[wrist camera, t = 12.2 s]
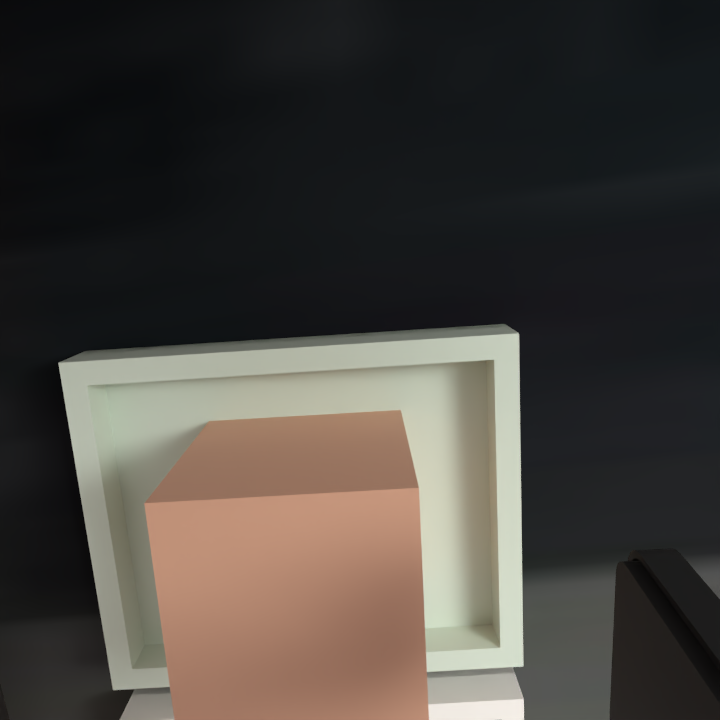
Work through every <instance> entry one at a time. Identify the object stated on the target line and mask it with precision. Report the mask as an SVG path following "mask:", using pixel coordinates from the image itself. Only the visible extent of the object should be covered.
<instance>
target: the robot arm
mask: <svg viewBox="0 0 720 720" xmlns="http://www.w3.org/2000/svg"><path fill="white" fill-rule="evenodd" d="M0 720H9V717H8V713H7V709H6V705H5V701H4V697H3V693H2V689H1V685H0ZM610 720H720V599H719V598H718V597H717V596H716V595H715V594H714V592H713V591H712V590H711V589H710V588H709V587H708V585H707V584H706V583H705V582H704V581H703V580H702V578H701V577H700V576H699V575H698V574H697V573H696V571H695V570H694V569H693V568H692V567H691V566H690V564H689V563H688V562H687V561H686V560H685V559H684V557H683V556H682V555H681V554H680V553H679V552H678V551H677V550H675V549H654V550H633V551H632V552H631V553H630V555H629V557H628V561H624V562H619V563H618V565H617V569H616V586H615V608H614V631H613V653H612V675H611V698H610Z"/></svg>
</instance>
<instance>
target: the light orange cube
mask: <svg viewBox="0 0 720 720" xmlns="http://www.w3.org/2000/svg"><path fill="white" fill-rule="evenodd" d="M144 505H145V512H146V520H147V527H148V534H149V541H150V548H151V555H152V563H153V570H154V577H155V584H156V591H157V598H158V606H159V613H160V620H161V627H162V634H163V641H164V648H165V656H166V663H167V670H168V677H169V684H170V691H171V699H172V706H173V713H174V720H429V709H428V686H427V663H426V640H425V616H424V593H423V570H422V547H421V524H420V500H419V486H418V482H417V477H416V473H415V469H414V464H413V460H412V456H411V452H410V447H409V443H408V439H407V435H406V430H405V426H404V422H403V417H402V413H401V410H391V411H374V412H357V413H340V414H322V415H305V416H288V417H271V418H253V419H236V420H219V421H209V422H208V423H207V424H206V426H205V427H204V428H203V429H202V431H201V432H200V433H199V435H198V436H197V437H196V438H195V440H194V441H193V442H192V443H191V445H190V446H189V447H188V448H187V450H186V451H185V452H184V454H183V455H182V456H181V457H180V459H179V460H178V461H177V462H176V464H175V465H174V466H173V467H172V469H171V470H170V471H169V473H168V474H167V475H166V476H165V478H164V479H163V480H162V481H161V483H160V484H159V485H158V487H157V488H156V489H155V490H154V492H153V493H152V494H151V495H150V497H149V498H148V499H147V500H146V502H145V503H144Z"/></svg>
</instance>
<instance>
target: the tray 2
mask: <svg viewBox="0 0 720 720" xmlns="http://www.w3.org/2000/svg"><path fill="white" fill-rule="evenodd" d="M427 686H428V709H429V720H524V698H523V695H522V693H521V690H520V687H519V684H518V681H517V678H516V676H515V673H514V670H513V667H505V668H488V669H470V670H453V671H436V672H427ZM120 720H174V713H173V706H172V699H171V691H170V687H160V688H143V689H134V691H133V693H132V695H131V697H130V700H129V702H128V704H127V706H126V708H125V710H124V712H123V714H122V716H121V718H120Z"/></svg>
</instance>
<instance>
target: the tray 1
mask: <svg viewBox="0 0 720 720" xmlns="http://www.w3.org/2000/svg"><path fill="white" fill-rule="evenodd" d="M58 364H59V370H60V376H61V382H62V388H63V394H64V400H65V406H66V412H67V418H68V424H69V430H70V436H71V442H72V448H73V454H74V460H75V466H76V472H77V478H78V484H79V490H80V496H81V502H82V508H83V514H84V520H85V526H86V532H87V538H88V544H89V550H90V555H91V561H92V567H93V573H94V579H95V585H96V591H97V597H98V603H99V609H100V615H101V621H102V627H103V633H104V639H105V645H106V651H107V657H108V663H109V669H110V675H111V681H112V687H113V690H126V689H143V688H160V687H170V684H169V677H168V670H167V663H166V656H165V648H164V641H163V634H162V627H161V620H160V613H159V606H158V598H157V591H156V584H155V577H154V570H153V563H152V555H151V548H150V541H149V534H148V527H147V520H146V512H145V505H144V503H145V502H146V500H147V499H148V498H149V497H150V495H151V494H152V493H153V492H154V490H155V489H156V488H157V487H158V485H159V484H160V483H161V481H162V480H163V479H164V478H165V476H166V475H167V474H168V473H169V471H170V470H171V469H172V467H173V466H174V465H175V464H176V462H177V461H178V460H179V459H180V457H181V456H182V455H183V454H184V452H185V451H186V450H187V448H188V447H189V446H190V445H191V443H192V442H193V441H194V440H195V438H196V437H197V436H198V435H199V433H200V432H201V431H202V429H203V428H204V427H205V426H206V424H207V423H208V422H209V421H219V420H236V419H253V418H271V417H288V416H305V415H322V414H340V413H357V412H374V411H391V410H401V413H402V417H403V422H404V426H405V430H406V435H407V439H408V443H409V447H410V452H411V456H412V460H413V464H414V469H415V473H416V477H417V482H418V486H419V500H420V524H421V547H422V570H423V593H424V616H425V640H426V663H427V672H436V671H453V670H470V669H488V668H505V667H522V666H523V606H522V529H521V453H520V376H519V333H518V332H516V331H515V330H513V329H511V328H510V327H508V326H507V325H505V324H497V325H482V326H466V327H451V328H435V329H419V330H404V331H388V332H373V333H357V334H342V335H326V336H311V337H295V338H280V339H264V340H249V341H233V342H217V343H202V344H186V345H171V346H155V347H140V348H124V349H109V350H93V351H84V352H82V353H80V354H77V355H75V356H73V357H71V358H68V359H66V360H64V361H61V362H59V363H58Z"/></svg>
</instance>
